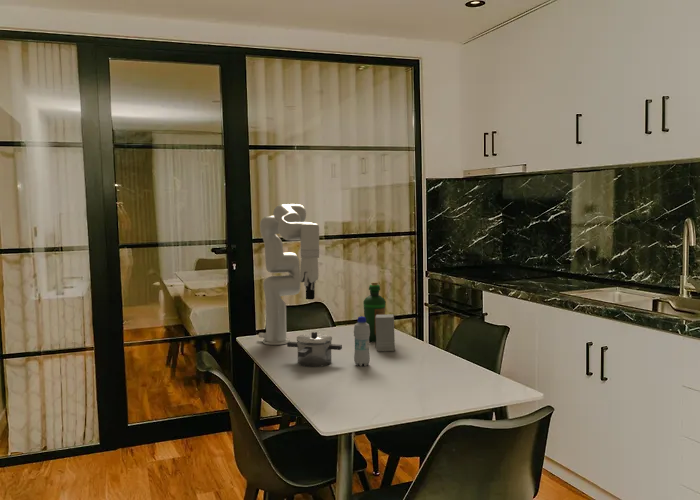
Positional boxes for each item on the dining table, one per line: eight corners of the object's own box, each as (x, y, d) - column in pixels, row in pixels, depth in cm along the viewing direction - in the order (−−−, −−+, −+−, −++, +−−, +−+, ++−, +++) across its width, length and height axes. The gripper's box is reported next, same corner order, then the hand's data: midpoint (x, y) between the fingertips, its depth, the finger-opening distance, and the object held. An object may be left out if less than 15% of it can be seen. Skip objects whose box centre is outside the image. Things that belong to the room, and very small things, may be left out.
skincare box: (394, 348, 276) (394, 313, 275) (394, 352, 269) (394, 316, 268) (376, 348, 277) (376, 313, 276) (375, 351, 270) (375, 316, 269)
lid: (291, 342, 247) (291, 335, 246) (303, 335, 261) (303, 328, 261) (325, 344, 243) (325, 337, 243) (336, 336, 257) (336, 329, 257)
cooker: (273, 370, 240) (273, 347, 239) (295, 355, 263) (295, 334, 263) (329, 374, 234) (329, 351, 233) (346, 359, 257) (346, 337, 257)
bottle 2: (386, 342, 288) (386, 283, 285) (363, 342, 288) (363, 283, 286) (385, 337, 298) (385, 280, 296) (363, 337, 298) (363, 280, 296)
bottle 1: (368, 367, 244) (368, 318, 243) (352, 366, 246) (352, 317, 244) (371, 363, 251) (371, 315, 249) (355, 362, 252) (355, 314, 251)
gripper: (307, 252, 254) (307, 295, 255) (294, 255, 239) (294, 301, 241) (324, 252, 252) (324, 296, 253) (312, 255, 237) (312, 302, 239)
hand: (310, 298), depth 247 cm, fingers closed
